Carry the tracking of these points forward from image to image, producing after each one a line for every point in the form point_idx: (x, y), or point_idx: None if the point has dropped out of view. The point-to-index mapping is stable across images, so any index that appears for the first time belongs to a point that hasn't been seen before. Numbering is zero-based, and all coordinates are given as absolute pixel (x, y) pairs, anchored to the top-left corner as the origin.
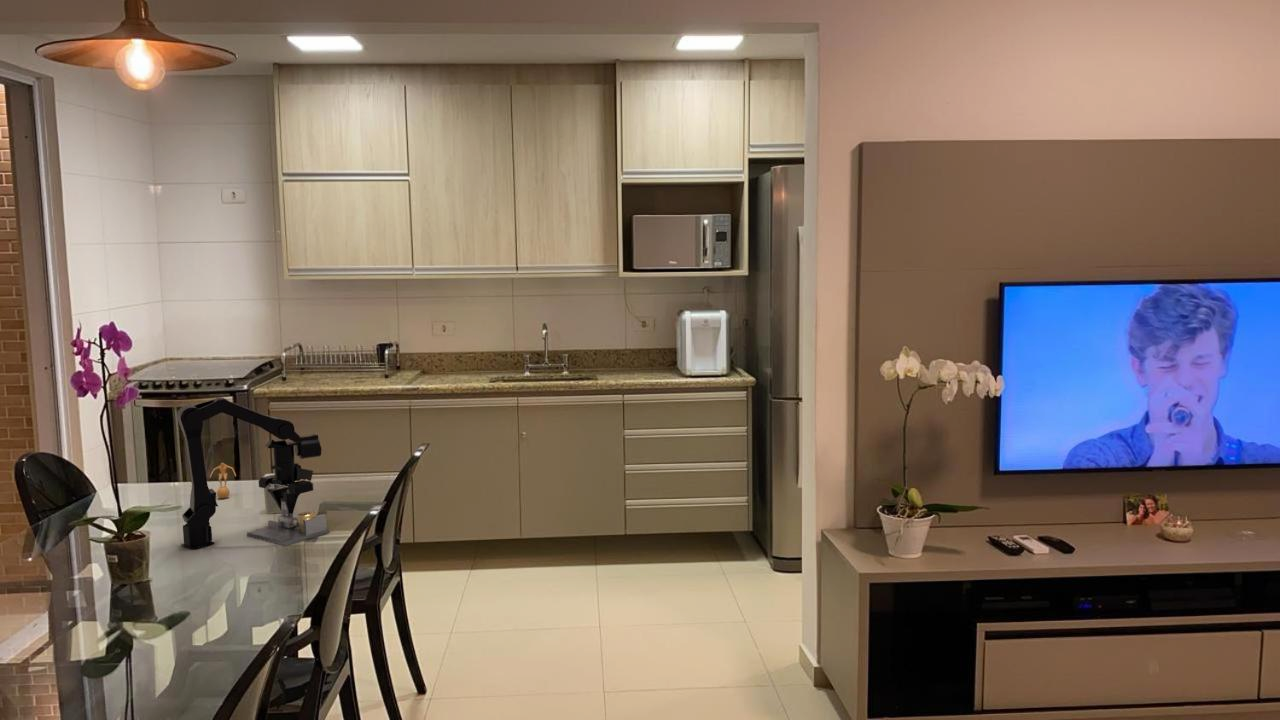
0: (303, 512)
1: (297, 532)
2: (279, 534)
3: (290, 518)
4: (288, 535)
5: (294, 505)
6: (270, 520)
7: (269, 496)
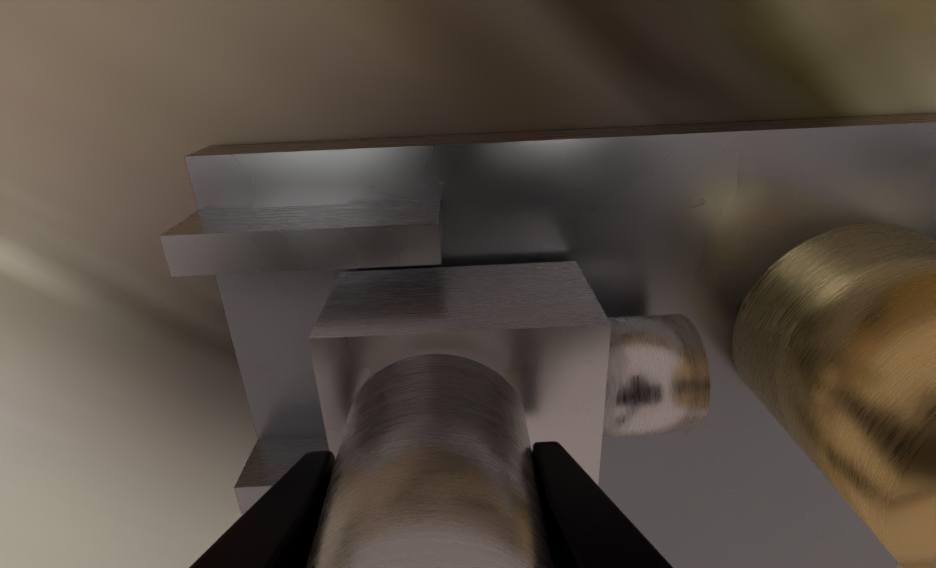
0: (927, 477)
1: (774, 426)
2: (649, 541)
3: (595, 466)
4: (764, 518)
5: (650, 560)
6: (238, 489)
7: None
